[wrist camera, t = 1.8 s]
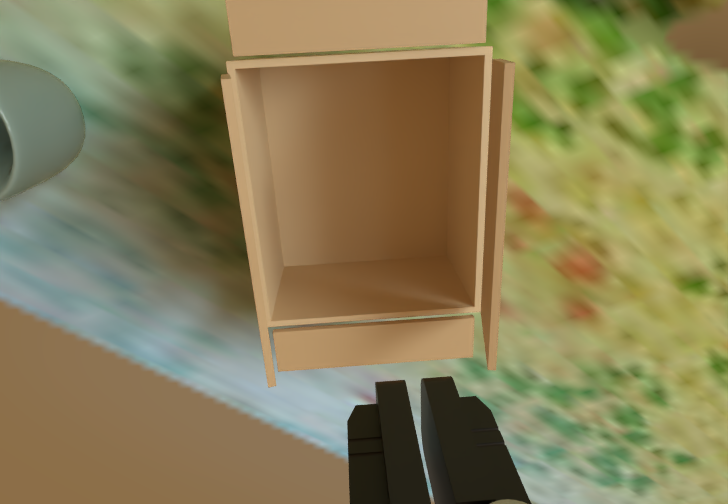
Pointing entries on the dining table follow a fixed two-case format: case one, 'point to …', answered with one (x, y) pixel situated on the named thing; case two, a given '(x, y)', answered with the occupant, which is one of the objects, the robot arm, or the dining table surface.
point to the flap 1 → (247, 223)
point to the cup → (35, 127)
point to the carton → (365, 173)
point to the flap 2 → (496, 201)
